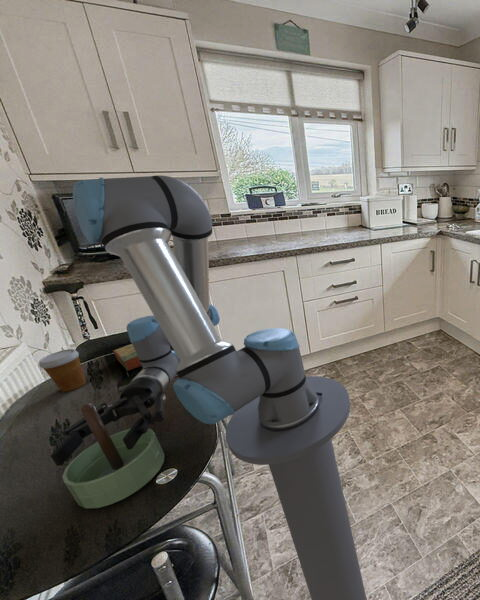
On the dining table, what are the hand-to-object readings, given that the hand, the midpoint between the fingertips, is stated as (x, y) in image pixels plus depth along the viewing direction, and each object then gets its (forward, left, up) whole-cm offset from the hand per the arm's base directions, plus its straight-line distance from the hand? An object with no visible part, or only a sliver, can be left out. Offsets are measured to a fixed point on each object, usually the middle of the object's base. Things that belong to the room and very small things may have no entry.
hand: (92, 452), depth 64 cm
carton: (+2, -73, -11) cm, 74 cm away
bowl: (-1, -4, -11) cm, 12 cm away
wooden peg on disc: (-1, -4, -10) cm, 11 cm away
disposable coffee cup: (+19, -66, -11) cm, 69 cm away
